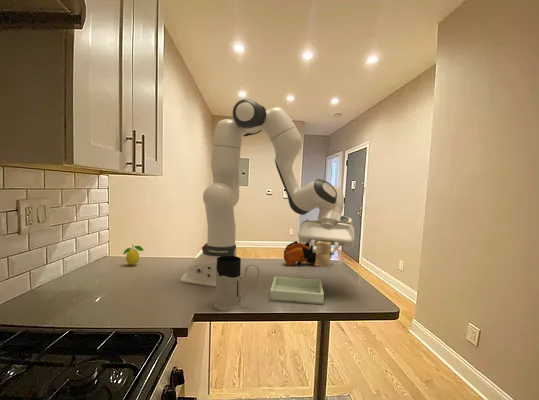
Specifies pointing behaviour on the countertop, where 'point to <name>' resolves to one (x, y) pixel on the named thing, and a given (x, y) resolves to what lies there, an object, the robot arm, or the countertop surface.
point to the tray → (297, 290)
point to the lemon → (132, 255)
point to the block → (323, 253)
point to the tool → (299, 253)
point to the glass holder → (229, 283)
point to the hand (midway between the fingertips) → (323, 252)
